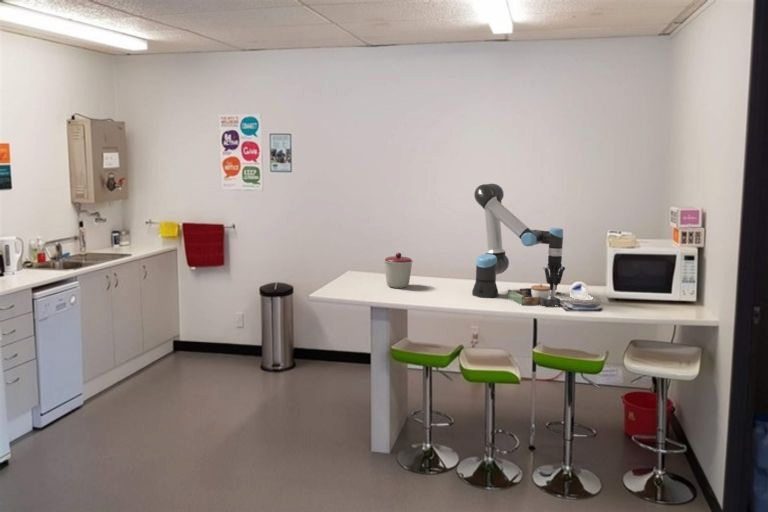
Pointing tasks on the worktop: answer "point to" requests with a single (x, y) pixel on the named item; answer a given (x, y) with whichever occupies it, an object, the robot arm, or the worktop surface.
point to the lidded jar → (540, 291)
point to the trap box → (531, 298)
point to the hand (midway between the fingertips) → (552, 295)
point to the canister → (398, 271)
